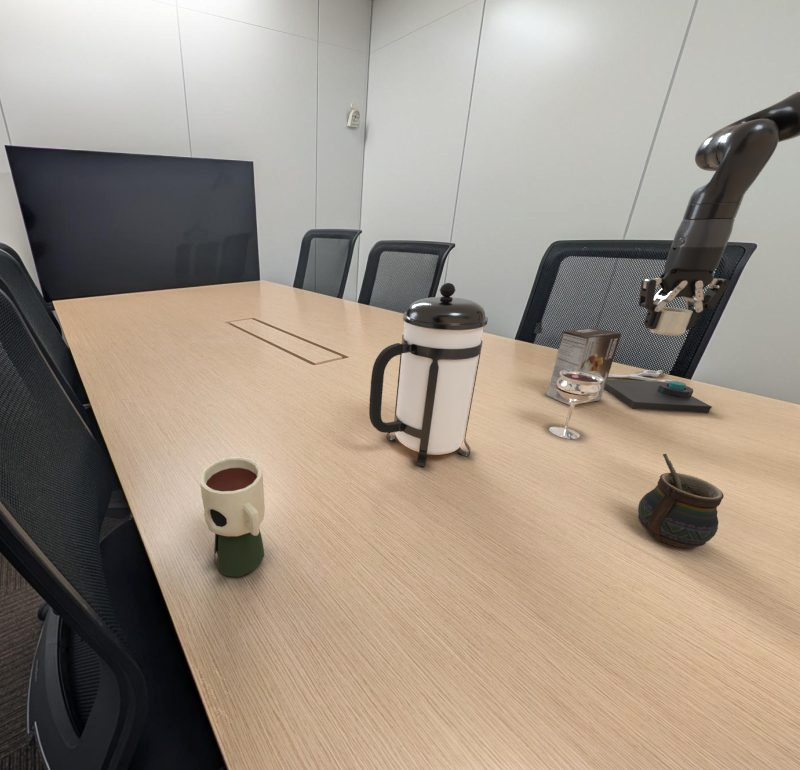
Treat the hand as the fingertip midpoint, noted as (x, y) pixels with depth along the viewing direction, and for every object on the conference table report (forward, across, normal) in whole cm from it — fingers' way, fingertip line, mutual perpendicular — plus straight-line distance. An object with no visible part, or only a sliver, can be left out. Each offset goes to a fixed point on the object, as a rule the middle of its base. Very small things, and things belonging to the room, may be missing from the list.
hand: (666, 328), depth 80 cm
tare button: (+14, -7, -2) cm, 16 cm away
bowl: (+1, 0, 0) cm, 1 cm away
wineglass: (+17, +23, +19) cm, 35 cm away
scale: (+17, -3, -2) cm, 17 cm away
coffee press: (+17, +51, +30) cm, 62 cm away
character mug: (+17, +77, +60) cm, 99 cm away
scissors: (+17, -6, -15) cm, 23 cm away
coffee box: (+17, +14, +1) cm, 22 cm away
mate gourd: (+17, +22, +46) cm, 54 cm away
